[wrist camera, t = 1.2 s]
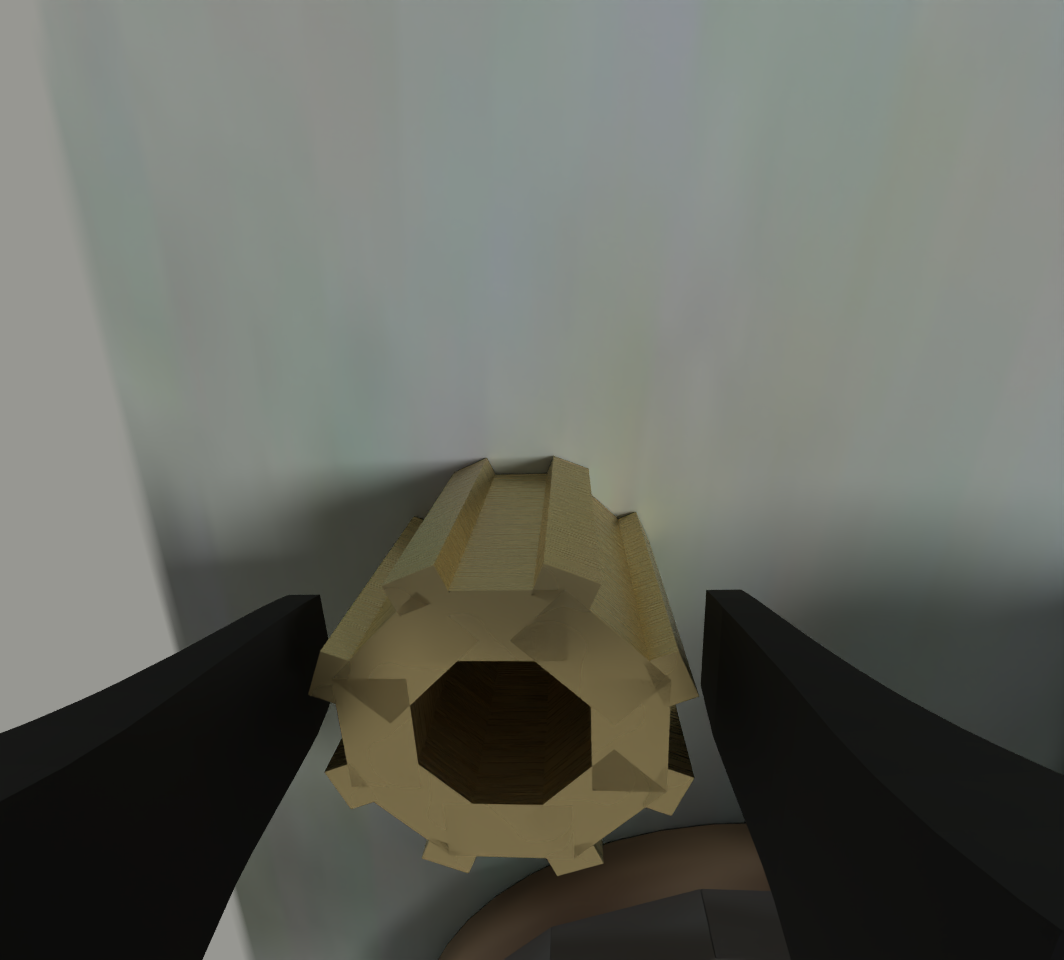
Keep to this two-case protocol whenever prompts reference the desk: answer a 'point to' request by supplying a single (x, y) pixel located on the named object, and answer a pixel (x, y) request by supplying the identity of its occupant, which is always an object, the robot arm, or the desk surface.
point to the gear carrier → (637, 905)
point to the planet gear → (511, 674)
